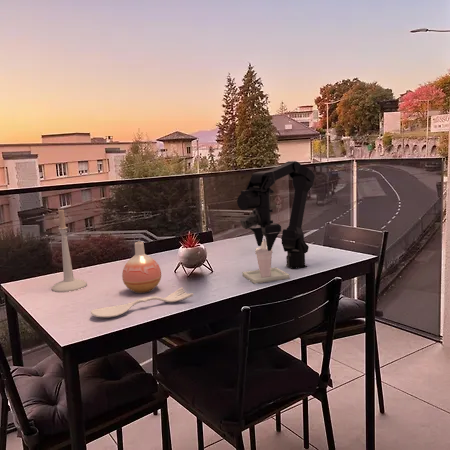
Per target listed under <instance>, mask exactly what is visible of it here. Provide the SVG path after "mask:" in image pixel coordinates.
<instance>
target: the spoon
mask: <svg viewBox="0 0 450 450" xmlns="http://www.w3.org/2000/svg"><path fill="white" fill-rule="evenodd" d="M193 296H194V293H188V292H186V290H185V289H184V287H179V288H177V289H176V290H175V291H174V292H172V293H171V294H168V295H167V296H166V297H160V296H155V295H154V296H148V297H141V298H140V299H135V300H134V301H132V302H129V303H125V304H118V305H113V306H108V307H101V308H95V309H91V311H90V314H91V316H93V317H95V318H96V317H97V318H107V319H108V318H109V319H110V318H115V317H119V316H121V315H122V314H125V313H126V312H127V311H129V310H130V309H131V308H133V307H134V306H135V305H137V304H140V303H146V302H150V301H161V302H166V303H176V302H181V301H182V300H183V301H184V300H186V299H190V298H192V297H193Z"/></svg>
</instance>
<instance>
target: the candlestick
mask: <svg viewBox="0 0 450 450" xmlns="http://www.w3.org/2000/svg"><path fill="white" fill-rule="evenodd" d="M57 211H58V220H59V227H58V230H59V234H60V235H61V253H62V254H61V255H62V269H63V271H62V272H63V280H60V281H58V282H57V283H55V284H54V285H53V286H52V287H51V291H52V290H53V291H52V292H54V291H55V292H54V293H70V292H69V291H71V292H75V291H74V290H76V291H79V290H78V289H80V290H82V289H81V288H83V289H85V288H86V287H88V282H87V281H85V280H83V279H80V278H75V277H74V271H73V266H72V259H71V253H70V248H69V243H68V236H67V233H68V226H66V217H65V210H64V209H58V210H57ZM85 286H86V287H85ZM84 287H85V288H84Z"/></svg>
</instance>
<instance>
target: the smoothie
mask: <svg viewBox="0 0 450 450" xmlns="http://www.w3.org/2000/svg"><path fill="white" fill-rule="evenodd" d="M263 241H264V249H261V248H260V249H258V250H256V249H255V252H254V253H255V255H256V259H257V264H258V270H260V275H261V277H269V276H271V268H272V254H273V249H272V250H271V251H268V249H266V244H265V241H266V238H263Z"/></svg>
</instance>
